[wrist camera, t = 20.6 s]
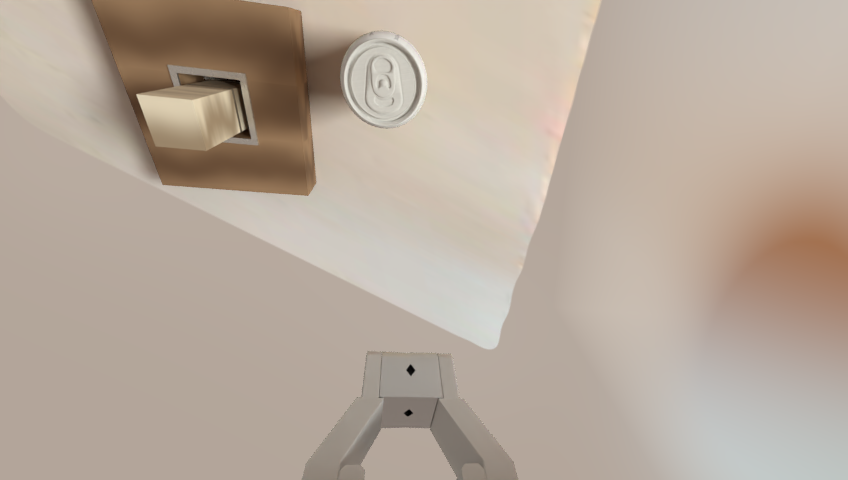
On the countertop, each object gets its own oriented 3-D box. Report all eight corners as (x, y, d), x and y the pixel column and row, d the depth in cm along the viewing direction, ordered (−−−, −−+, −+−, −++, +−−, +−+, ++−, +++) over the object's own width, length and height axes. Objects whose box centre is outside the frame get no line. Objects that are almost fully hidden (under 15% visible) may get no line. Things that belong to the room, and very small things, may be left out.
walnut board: (121, -14, 28) (80, -23, 24) (301, 11, 29) (287, 7, 26) (184, 172, 37) (161, 185, 34) (316, 182, 39) (307, 196, 36)
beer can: (364, 98, 34) (342, 131, 22) (360, 34, 31) (331, 28, 18) (417, 100, 34) (426, 132, 22) (419, 36, 31) (430, 32, 19)
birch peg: (211, 79, 32) (135, 93, 23) (251, 83, 33) (192, 99, 23) (221, 118, 34) (155, 146, 25) (258, 122, 35) (207, 151, 26)
